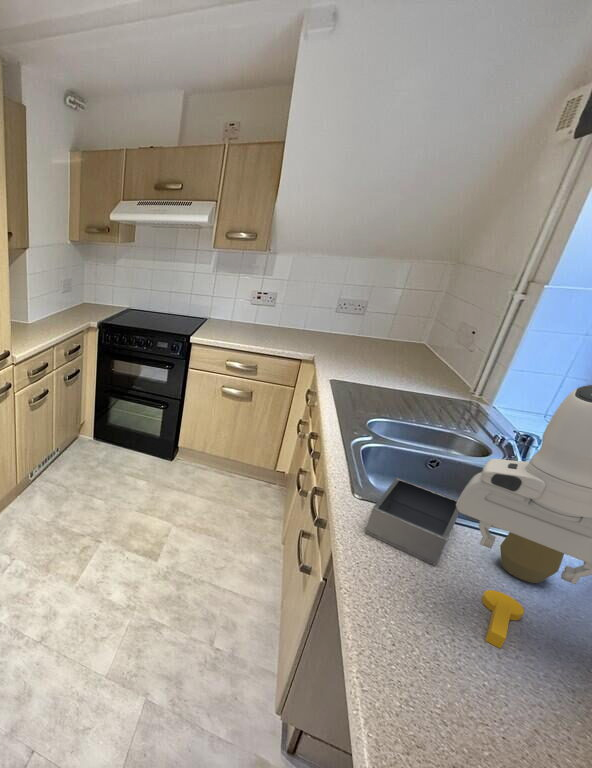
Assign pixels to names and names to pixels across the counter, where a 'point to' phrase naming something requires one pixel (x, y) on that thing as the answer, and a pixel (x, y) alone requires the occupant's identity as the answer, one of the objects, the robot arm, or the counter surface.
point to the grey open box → (413, 520)
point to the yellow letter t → (500, 615)
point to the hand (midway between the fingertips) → (524, 561)
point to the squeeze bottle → (529, 559)
